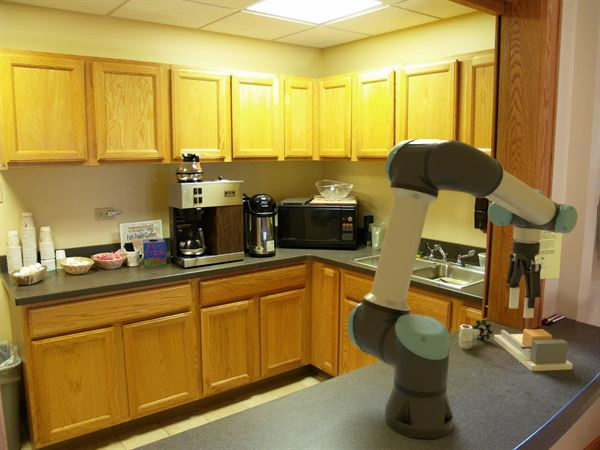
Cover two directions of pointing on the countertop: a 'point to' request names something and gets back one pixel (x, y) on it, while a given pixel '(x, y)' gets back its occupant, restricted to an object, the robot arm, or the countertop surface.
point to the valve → (473, 333)
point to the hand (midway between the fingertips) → (520, 312)
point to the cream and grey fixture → (536, 352)
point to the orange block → (534, 337)
